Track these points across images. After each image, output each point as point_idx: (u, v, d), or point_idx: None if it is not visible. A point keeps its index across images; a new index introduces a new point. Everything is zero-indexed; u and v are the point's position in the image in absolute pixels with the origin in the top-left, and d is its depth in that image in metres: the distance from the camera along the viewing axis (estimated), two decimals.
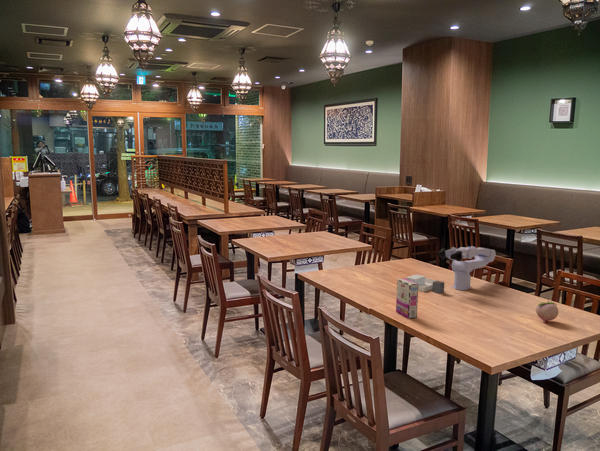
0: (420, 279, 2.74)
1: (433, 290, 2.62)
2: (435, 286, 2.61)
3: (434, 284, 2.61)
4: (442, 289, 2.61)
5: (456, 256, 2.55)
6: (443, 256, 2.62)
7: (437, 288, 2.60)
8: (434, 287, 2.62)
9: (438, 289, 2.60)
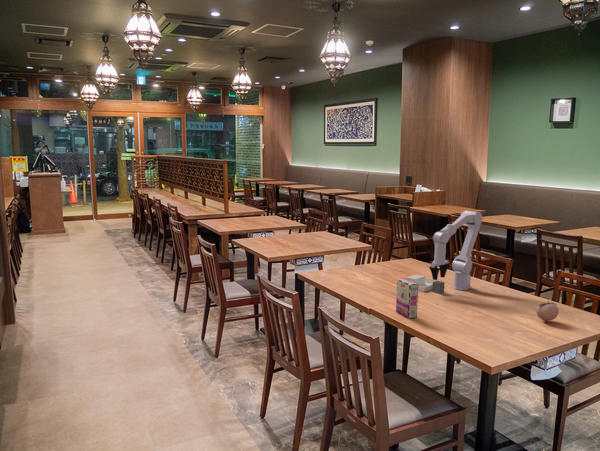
0: (420, 279, 2.74)
1: (433, 290, 2.62)
2: (435, 286, 2.61)
3: (434, 284, 2.61)
4: (442, 289, 2.61)
5: (435, 271, 2.58)
6: (445, 268, 2.62)
7: (437, 288, 2.60)
8: (434, 287, 2.62)
9: (438, 289, 2.60)
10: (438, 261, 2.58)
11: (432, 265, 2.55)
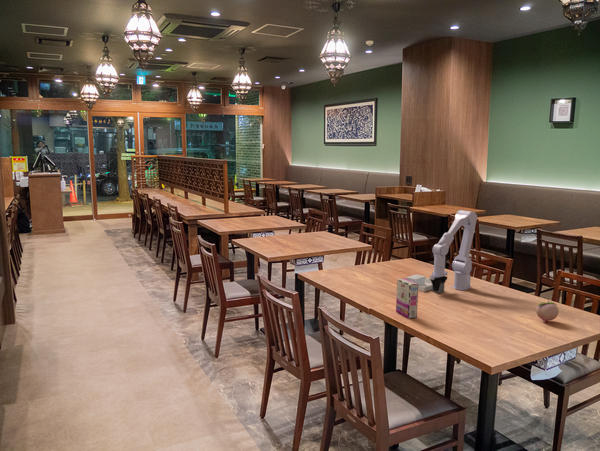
0: (420, 279, 2.74)
1: (433, 290, 2.62)
2: None
3: None
4: (442, 289, 2.61)
5: (435, 282, 2.60)
6: (443, 280, 2.62)
7: None
8: None
9: (438, 289, 2.60)
10: (437, 273, 2.59)
11: (431, 277, 2.56)
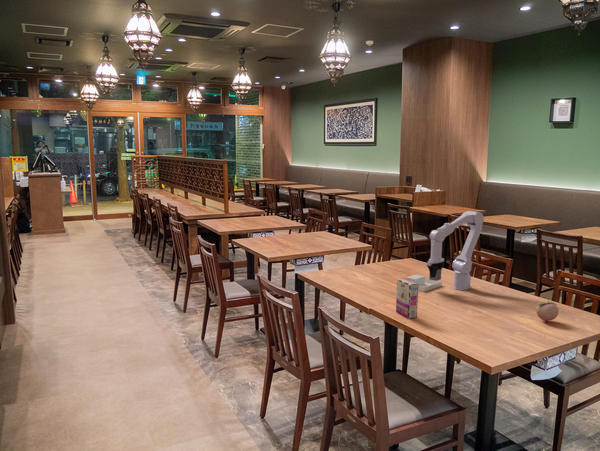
0: (420, 279, 2.74)
1: (430, 277, 2.64)
2: None
3: None
4: (439, 275, 2.63)
5: (432, 269, 2.61)
6: (440, 266, 2.64)
7: None
8: None
9: (435, 275, 2.62)
10: (434, 259, 2.60)
11: (428, 263, 2.58)
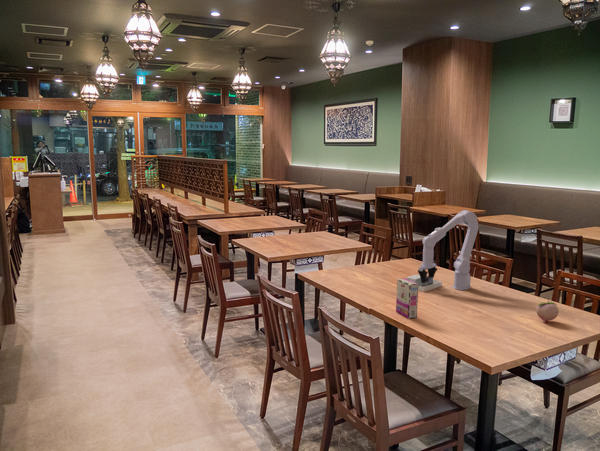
0: (420, 279, 2.74)
1: (422, 285, 2.71)
2: None
3: None
4: None
5: (423, 274, 2.67)
6: (433, 271, 2.71)
7: (426, 282, 2.69)
8: None
9: (427, 284, 2.68)
10: (426, 265, 2.67)
11: (420, 268, 2.64)
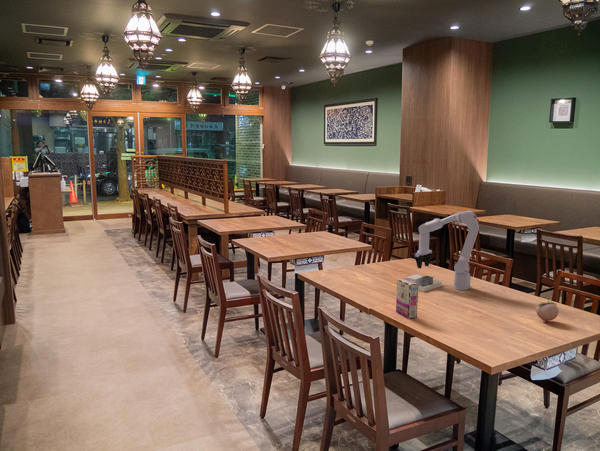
0: (420, 279, 2.74)
1: (422, 285, 2.71)
2: (424, 280, 2.69)
3: (423, 279, 2.70)
4: None
5: (419, 260, 2.77)
6: (428, 257, 2.82)
7: (426, 282, 2.69)
8: (423, 282, 2.70)
9: (427, 284, 2.68)
10: (422, 251, 2.77)
11: (416, 254, 2.75)
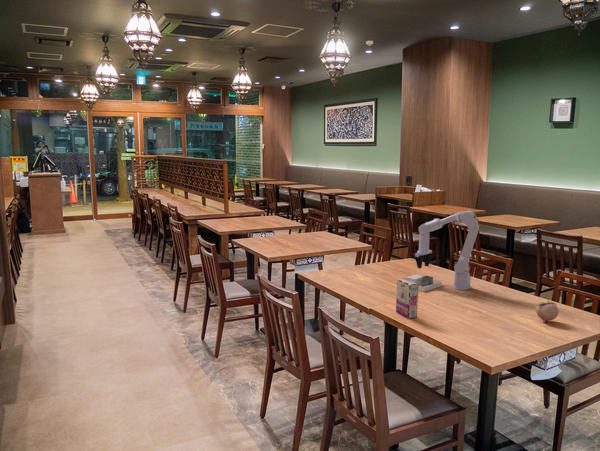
0: (420, 279, 2.74)
1: (422, 285, 2.71)
2: (424, 280, 2.69)
3: (423, 279, 2.70)
4: None
5: (419, 260, 2.77)
6: (428, 257, 2.82)
7: (426, 282, 2.69)
8: (423, 282, 2.70)
9: (427, 284, 2.68)
10: (422, 251, 2.77)
11: (416, 254, 2.75)
